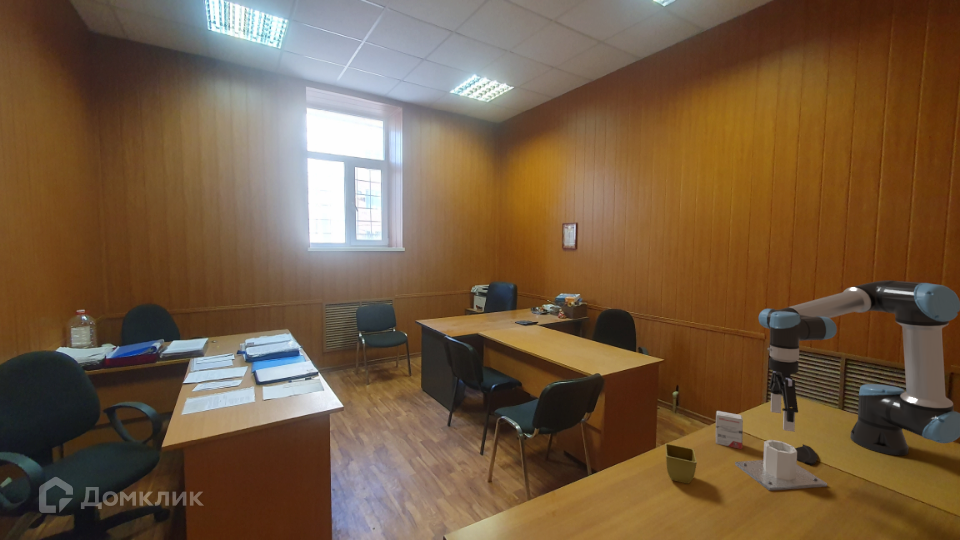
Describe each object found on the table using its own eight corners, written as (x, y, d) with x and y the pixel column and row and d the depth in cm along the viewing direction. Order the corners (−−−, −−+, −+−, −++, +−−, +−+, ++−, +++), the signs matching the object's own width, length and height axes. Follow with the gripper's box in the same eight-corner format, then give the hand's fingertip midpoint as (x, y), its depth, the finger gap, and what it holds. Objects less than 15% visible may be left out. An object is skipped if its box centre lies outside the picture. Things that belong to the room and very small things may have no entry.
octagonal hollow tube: (761, 462, 130) (762, 438, 129) (790, 468, 126) (791, 443, 126) (767, 475, 122) (768, 449, 122) (798, 482, 119) (799, 455, 118)
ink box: (741, 443, 144) (742, 414, 143) (742, 449, 140) (743, 419, 139) (715, 438, 149) (716, 409, 148) (715, 443, 144) (716, 414, 144)
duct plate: (787, 461, 132) (787, 442, 132) (826, 486, 118) (828, 465, 118) (735, 464, 131) (735, 445, 130) (769, 490, 117) (770, 469, 116)
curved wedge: (825, 455, 136) (825, 451, 136) (812, 468, 129) (812, 463, 129) (796, 445, 143) (797, 441, 143) (782, 456, 136) (783, 452, 136)
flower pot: (693, 474, 126) (694, 448, 125) (696, 489, 118) (697, 462, 117) (664, 467, 129) (665, 443, 129) (665, 482, 121) (666, 456, 121)
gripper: (759, 347, 135) (758, 404, 136) (781, 369, 112) (779, 436, 114) (785, 349, 131) (783, 407, 133) (813, 372, 109) (810, 441, 110)
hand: (781, 421), depth 123 cm, fingers open, 13 cm apart
